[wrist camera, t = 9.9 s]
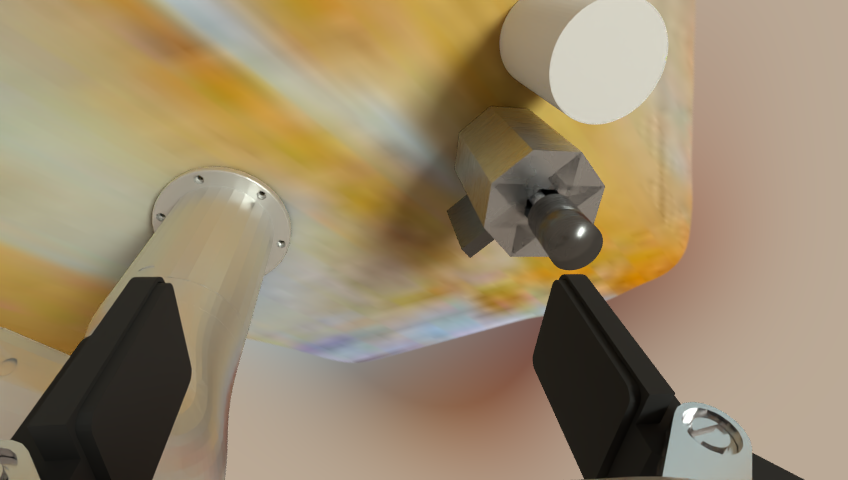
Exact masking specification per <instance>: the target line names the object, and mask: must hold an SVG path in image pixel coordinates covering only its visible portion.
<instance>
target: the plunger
mask: <svg viewBox="0 0 848 480" xmlns="http://www.w3.org/2000/svg"><path fill="white" fill-rule="evenodd" d="M528 200H529V201H530V202H531V204H532V205H533V206H532V208H531V209H530V212H529V214H528V225H529V228H530V230H531V231H532V233H533V234H534V235H535V237H536V238H537V240H538V241H539V243H540V244H541V246H542V247H543V249H544V250H545V252H546V253H547V255H548V256H549V258H550V259H551V261H552V262H553V263H554V264H555V265H556V266H557V267H558V268H560V269H564V270H576V269H580V268H582V267H584V266H586V265H588V264H589V263H591V262H592V261H593V260H594V259H595V258H596V257H597V256H598V254H599V252H600V250H601V248H602V244H603V238H602V235H601V232H600V231H599V230H598V229H597V228H596V226H595V225H594V224H593V223H592V222H591V221H590V220H589V219H588V218H587V217H586V216H585V215H584V214H583V213H582V211H581V210H580V209H579V208H578V207H577V206H576V205H575V204H574V203H573V202H572V201H571V200H570V199H569V198H568V197H566V196H564V195H561V194H551V195H547V196H545V195H544V194H543V193H542V192H541V190H539V191H537V192H536V193H535V194H534V195H532V196H531V197H530V198H528Z"/></svg>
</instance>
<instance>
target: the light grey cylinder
mask: <svg viewBox="0 0 848 480" xmlns="http://www.w3.org/2000/svg"><path fill="white" fill-rule="evenodd" d="M500 54H501V58H502V62H503V64H504V66H505V68H506V70H507V71H508V72H509V74H510V75H511V76H512V77H513V78H514V79H516V80H517V81H518V82H520V83H521V84H523V85H524V86H526V87H527V88H529V89H530V90H531V91H533V92H534V93H536V94H537V95H539V96H540V97H542V98H543V99H544V100H546V101H547V102H549V103H550V104H552V105H553V106H555V107H556V108H557V109H559V110H560V111H562V112H563V113H565V114H566V115H568V116H569V117H571V118H572V119H574V120H576V121H579V122H582V123H586V124H604V123H609V122H612V121H615V120H618V119H620V118H622V117H624V116H626V115H628V114H629V113H631V112H632V111H634V110H635V109H636V108H637V107H638V106H640V105H641V104H642V103H643V102H644V101H645V100H646V98H647V97H648V96H649V95H650V94H651V92H652V91H653V89H654V88H655V86H656V85H657V83H658V81H659V79H660V77H661V75H662V73H663V70H664V67H665V64H666V59H667V54H668V35H667V30H666V26H665V23H664V21H663V19H662V17H661V15H660V14H659V12H658V11H657V10H656V8H655V7H654V6H653V5H651V4H650V3H649V2H647V1H646V0H519V1H518V2H517V3H516V4H515V5H514V6H513V7H512V9H511V10H510V12H509V13H508V15H507V17H506V19H505V21H504V23H503V26H502V30H501V34H500Z"/></svg>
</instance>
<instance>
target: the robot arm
mask: <svg viewBox="0 0 848 480" xmlns="http://www.w3.org/2000/svg"><path fill="white" fill-rule="evenodd" d="M199 176H202V177H203V178H200V177H199ZM260 191H263V192H265V193H264V194H262V193H261V192H260ZM163 214H164V215H163ZM152 226H153V230H154V234H153V236H152V237H151V238H150V240H149V241H148V242H147V244H146V245H145V246H144V248H143V249H142V251H141V252H140V253H139V255H138V256H137V257H136V259H135V260H134V261H133V263H132V264H131V265H130V267H129V268H128V269H127V271H126V272H125V274H124V275H123V276H122V278H121V279H120V280H119V282H118V283H117V284H116V286H115V287H114V288H113V290H112V291H111V293H110V294H109V295H108V296H107V298H106V299H105V300H104V301H103V303H102V304H101V305H100V307H99V308H98V310H97V311H96V313H95V314H94V316H93V317H92V319H91V321H90V323H89V325H88V328H87V331H86V334H85V337H84V339H83V340H82V341H81V342H80V344H79V345H78V346H77V348H76V349H75V350H74V352H73V353H72V355H71V356H70V355H68V354H65V353H63V352H60V351H58V350H56V349H53V348H51V347H49V346H46V345H44V344H41V343H39V342H37V341H34V340H32V339H30V338H27V337H25V336H23V335H20V334H18V333H15V332H13V331H11V330H8V329H6V328H2V327H0V480H225V475H226V464H227V444H228V443H227V442H228V418H229V408H230V400H231V395H232V389H233V385H234V380H235V376H236V372H237V368H238V365H239V360H240V357H241V354H242V350H243V347H244V344H245V340H246V337H247V333H248V330H249V326H250V323H251V319H252V316H253V312H254V309H255V305H256V301H257V298H258V294H259V291H260V287H261V284H262V280H263V277H264V275H266V274H268V273H269V272H271V271H272V270H273V269H275V268H276V267H277V265H278V264H279V263H280V262H281V261H282V260H283V258H284V256H285V254H286V253H287V250H288V247H289V243H290V238H291V222H290V218H289V214H288V212H287V210H286V208H285V206H284V204H283V202H282V201H281V199H280V198H279V197H278V195H277V194H276V193H275V192H274V191H273V190H272V189H271V188H270V187H269V186H268V185H266V184H265V183H264V182H262V181H260V180H259V179H257V178H256V177H254V176H252V175H249V174H247V173H245V172H243V171H239V170H235V169H232V168H226V167H216V166H213V167H201V168H197V169H193V170H190V171H187V172H185V173H183V174H181V175H179V176H177V177H176V178H174V179H173V180H172V181H171V182H170V183H168V184H167V186H166V187H165V188H164V189H163V190H162V191H161V193H160V194H159V196H158V198H157V200H156V201H155V204H154V208H153V211H152ZM280 240H282V241H280ZM533 366H534V369H535V371H536V374H537V376H538V378H539V380H540V382H541V385H542V387H543V389H544V391H545V394H546V396H547V398H548V400H549V402H550V404H551V407H552V409H553V411H554V413H555V416H556V418H557V420H558V422H559V424H560V427H561V429H562V431H563V433H564V435H565V438H566V440H567V442H568V444H569V446H570V449H571V451H572V453H573V455H574V458H575V460H576V462H577V464H578V466H579V469H580V471H581V473H582V475H583V477H584V479H583V480H804V479H802V478H800V477H798V476H796V475H794V474H792V473H790V472H788V471H786V470H784V469H783V468H781V467H779V466H777V465H774V464H773V463H771V462H769V461H767V460H765V459H763V458H761V457H759V456H757V455H755V454H754V453H752V446H751V442H750V439H749V437H748V435H747V434H746V432H745V430H744V429H743V428H742V427H741V426H740V425H739V424H738V423H737V422H736V421H735V420H734V419H732V418H731V417H730V416H728V415H727V414H726V413H724V412H722V411H720V410H718V409H717V408H715V407H712V406H709V405H706V404H703V403H697V402H688V403H683V404H680V402H679V401H678V400H677V399H676V397H675V396H674V395H675V392H674V391H673V390H672V388H671V387H670V386H669V385H668V383H667V382H666V380H665V379H664V378H663V377H662V375H661V374H660V373H659V371H658V370H657V369H656V367H655V366H654V365H653V364H652V362H651V361H650V359H649V358H648V357H647V355H646V354H645V353H644V351H643V350H642V349H641V348H640V346H639V345H638V343H637V342H636V341H635V340H634V338H633V337H632V336H631V334H630V333H629V332H628V330H627V329H626V328H625V326H624V325H623V324H622V322H621V321H620V320H619V318H618V317H617V316H616V315H615V313H614V312H613V311H612V309H611V308H610V306H609V305H608V304H607V302H606V301H605V300H604V299H603V297H602V296H601V295H600V293H599V292H598V291H597V289H596V288H595V287H594V285H593V284H592V283H591V281H590V280H589V279H588V277H587V276H586V275H583V274H564V275H561V277H560V278H559V280H555V281H554V282H553V285H552V288H551V292H550V296H549V299H548V303H547V306H546V310H545V314H544V317H543V321H542V325H541V328H540V332H539V336H538V339H537V343H536V346H535V350H534V354H533Z"/></svg>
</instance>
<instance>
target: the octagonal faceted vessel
mask: <svg viewBox="0 0 848 480" xmlns="http://www.w3.org/2000/svg"><path fill="white" fill-rule="evenodd" d="M455 171H456V173H457V175H458V177H459V179H460V181H461V183H462V185H463V187H464V189H465V191H466V193H467V195H466V196H465V197H464V198H462V199H461V200H460V201H459V202H457V203H456V204H455V205H454V206H452V207H451V208H450V209H449V210H447V213H448V215H449V218H450V220H451V223H452V226H453V228H454V231H455V233H456V236H457V239H458V241H459V244H460V246H461V249H462V250H463V251H464V252H465V253H466V254H467V255H468V256H469V257H470V258H471V257H472V256H473V255H475V254H476V253H477V252H478V251H480V250H481V249H482V248H484V247H485V246H486V245H488V244H489V243H490V242H492V241H493V240H494V239H495V240H496V241H497V242H498V244H499V245H500V246H501V247H502V248H503V249H504V250H505V251H506V252H507V253H508V254H509V256H510V257H549V256H548V255H547V253H546V252H545V250H544V249H543V247H542V246H541V244H540V243H539V241H538V240H537V238H536V237H535V235H534V234H533V233H532V231H531V230H530V228H529V225H528V214H529V212H530V209H531V208H532V206H533V205H532V204H531V202H530V201H529V200H528V198H530V197H531V196H532V195H534V194H535V193H536V192H537V191H539V190H541V192H542V193H543V194H544V195H545V196H547V195H551V194H561V195H564V196H566V197H568V198H569V199H570V200H571V201H572V202H573V203H574V204H575V205H576V206H577V207H578V208H579V209H580V210H581V211H582V213H583V214H584V215H585V216H586V217H587V218H588V219H589V220H590V221H591V222H592V223H593V224H594V221H595V218H596V214H597V211H598V208H599V204H600V201H601V198H602V195H603V191H604V188H605V185H604V184H603V183H602V181H601V180H600V178H599V177H598V175H597V174H596V172H595V171H594V169H593V168H592V166H591V165H590V163H589V162H588V161H587V159H586V158H585V156H584V155H583V153H582V152H581V151H580V150H579V149H577V148H576V147H575V146H574V145H572V144H571V143H570V142H569V141H567V140H566V139H565V138H564V137H563V136H561V135H560V134H559V133H558V132H556V131H555V130H554V129H553V128H551V127H550V126H549V125H548V124H546V123H545V122H544V121H543V120H542V119H540V118H539V117H538V116H537V115H535V114H534V113H533V112H532V111H530V110H529V109H527V108H509V107H489V108H488V109H487V110H485V111H484V112H483V113H482V114H481V115H480V116H478V117H477V118H476V119H475V120H474V121H472V122H471V123H470V124H469V125H468V126H467V127H465V128H464V129H463V130H462V131H461V132H460V133H459V138H458V146H457V154H456V162H455Z"/></svg>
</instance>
